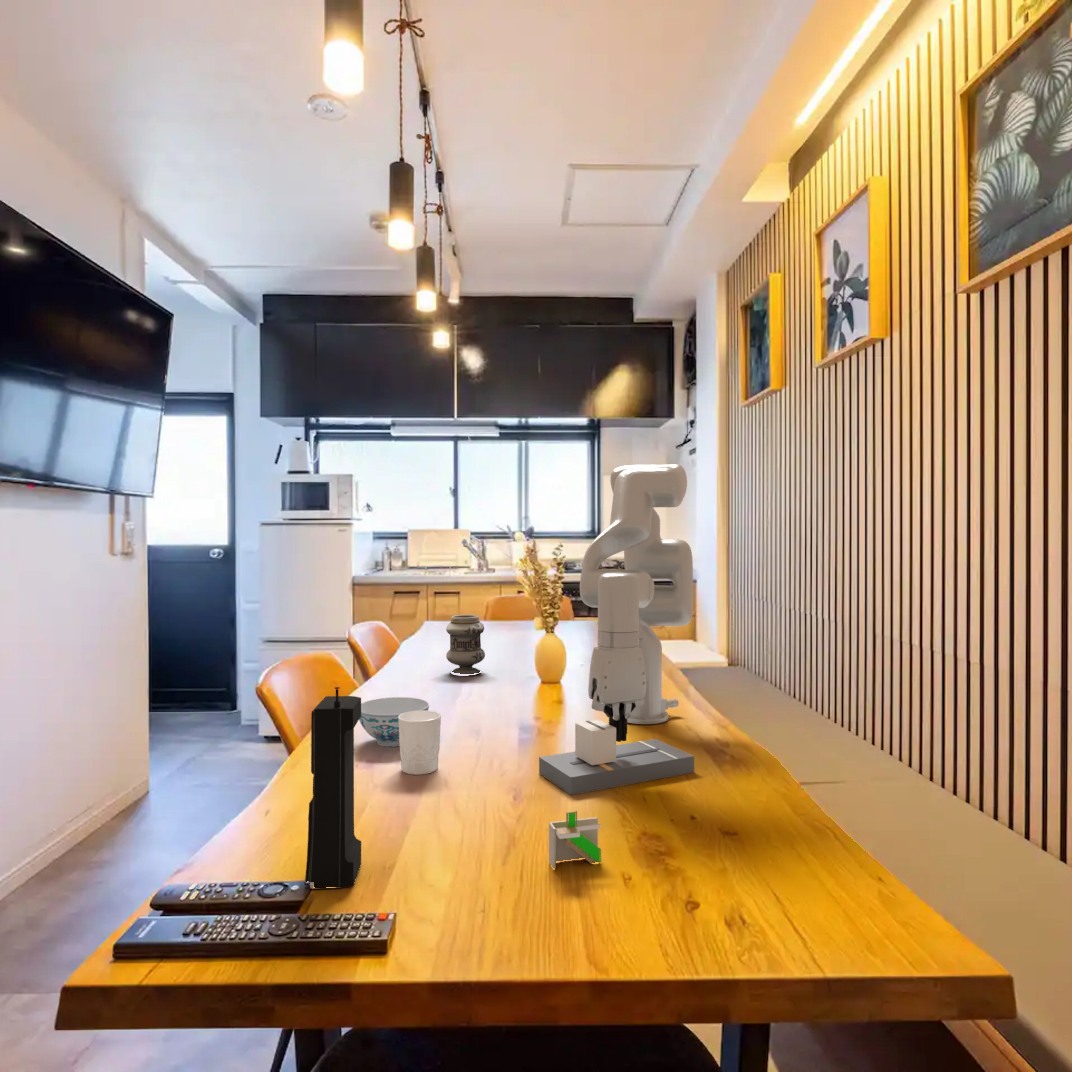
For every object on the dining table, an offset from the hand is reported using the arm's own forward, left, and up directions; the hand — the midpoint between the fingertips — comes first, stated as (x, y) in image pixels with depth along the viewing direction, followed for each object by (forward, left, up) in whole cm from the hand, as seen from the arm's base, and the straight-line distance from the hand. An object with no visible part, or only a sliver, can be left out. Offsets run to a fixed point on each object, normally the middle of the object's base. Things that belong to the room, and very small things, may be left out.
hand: (618, 739), depth 132 cm
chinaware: (+32, -37, -6) cm, 49 cm away
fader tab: (+5, 0, -3) cm, 6 cm away
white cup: (+32, -18, -6) cm, 37 cm away
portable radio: (+54, +17, -6) cm, 57 cm away
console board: (0, 0, -6) cm, 6 cm away
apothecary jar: (-7, -98, -6) cm, 98 cm away
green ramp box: (+25, +28, -7) cm, 38 cm away
